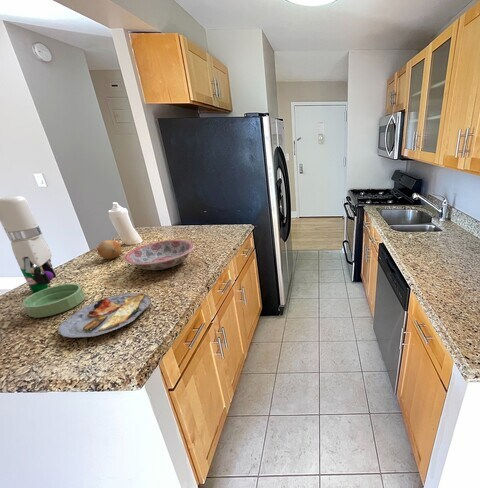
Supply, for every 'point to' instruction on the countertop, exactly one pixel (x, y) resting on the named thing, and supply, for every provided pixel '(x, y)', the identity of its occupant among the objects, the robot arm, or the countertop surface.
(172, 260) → the ceramic bowl
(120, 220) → the white squeeze bottle
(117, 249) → the onion
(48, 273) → the ball
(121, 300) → the food plate
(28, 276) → the soda can
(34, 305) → the green bowl
